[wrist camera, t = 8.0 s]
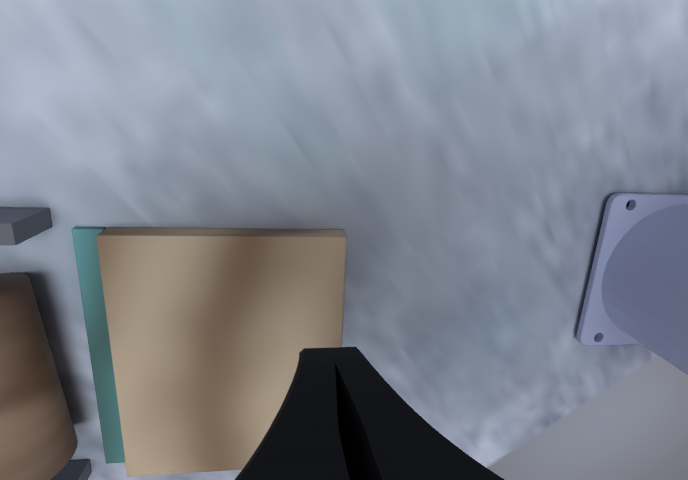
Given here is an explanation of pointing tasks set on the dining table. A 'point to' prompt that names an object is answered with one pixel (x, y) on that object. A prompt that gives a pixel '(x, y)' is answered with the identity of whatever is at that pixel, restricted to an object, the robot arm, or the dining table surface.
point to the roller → (29, 390)
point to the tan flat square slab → (202, 335)
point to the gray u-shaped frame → (13, 230)
